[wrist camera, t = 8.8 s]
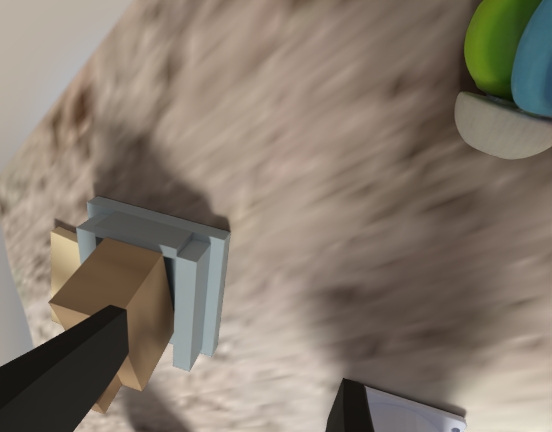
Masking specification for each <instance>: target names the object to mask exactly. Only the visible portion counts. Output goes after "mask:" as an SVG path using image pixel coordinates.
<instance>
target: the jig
mask: <svg viewBox="0 0 552 432" xmlns="http://www.w3.org/2000/svg"><path fill="white" fill-rule="evenodd" d="M87 208H88V218H89V220H87V221H86V222H84V223H83V224H81V225H80V226H78V227H77V228H76V231H77V239H78V247H79V255H80V263H81V265H82V263H83V262H84V261H85V260H86V259H87V258H88V257H89V255H90V254H91V253H92V252H93V251H94V250H95V249H96V247H97V246H98V245H99V244H100V243H101V242H102V241H103V239H104V238H105V237H107V238H110V239H114V240H117V241H121V242H124V243H128V244H131V245H135V246H138V247H142V248H145V249H148V250H152V251H155V252H159V253H162V254H163V258H164V264H165V269H166V274H167V280H168V285H169V291H170V296H171V301H172V307H173V312H174V333H173V335H172V337H171V339H170V341H169V343H170V344H174V345H173V366H174V367H177V368H180V369H183V370H186V371H189V372H190V370H191V368H192V366H193V364H194V362H195V361H196V359H197V357H198V355H199V353H201V354H204V355H208V356H211V357H212V356H213V354H214V352H215V350H216V348H217V345H218V336H219V328H220V319H221V310H222V302H223V293H224V285H225V276H226V268H227V259H228V250H229V242H230V233H231V232H228V231H225V230H221V229H217V228H214V227H210V226H206V225H203V224H199V223H195V222H192V221H188V220H184V219H181V218H177V217H173V216H170V215H166V214H162V213H159V212H155V211H151V210H147V209H144V208H140V207H136V206H133V205H129V204H125V203H122V202H118V201H114V200H111V199H107V198H103V197H100V196H97V197H95V198H93V199H92V200H90V201H88V202H87Z"/></svg>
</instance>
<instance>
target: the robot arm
mask: <svg viewBox="0 0 552 432" xmlns="http://www.w3.org/2000/svg"><path fill="white" fill-rule="evenodd" d="M128 354H129V341H128V322H127V310H126V309H123V308H120V307H117V306H114V305H111V304H110V305H108V306H107V307H105V308H103V309H101V310H100V311H98V312H96V313H95V314H93V315H91V316H90V317H88V318H86V319H85V320H83V321H81V322H80V323H78V324H76V325H75V326H73V327H71V328H70V329H68V330H66V331H64V332H63V333H61V334H59V335H58V336H56V337H54V338H52V339H51V340H49V341H47V342H45V343H44V344H42V345H40V346H38V347H37V348H35V349H33V350H31V351H29V352H27V353H26V354H24V355H22V356H20V357H18V358H16V359H14V360H12V361H10V362H9V363H7V364H5V365H3V366H1V367H0V432H73V431H74V430H75V428H76V427H77V426H78V425H79V423H80V422H81V421H82V419H83V418H84V417H85V416H86V414H87V413H88V412H89V410H90V409H91V408H92V407H93V405H94V404H95V403H96V401H97V400H98V399H99V397H100V396H101V395H102V394H103V392H104V391H105V390H106V388H107V387H108V386H109V384H110V383H111V382H112V380H113V378H114V377H115V375H116V374H117V372H118V370H119V369H120V367H121V365H122V364H123V362H124V360H125V359H126V357H127V355H128ZM466 427H467V424H466V420H465V419H464V418H463V417H461V416H458V415H455V414H452V413H449V412H445V411H442V410H439V409H436V408H433V407H430V406H426V405H423V404H420V403H417V402H414V401H411V400H407V399H404V398H401V397H398V396H395V395H392V394H388V393H385V392H382V391H379V390H376V389H373V388H369V387H366V386H364V384H361V383H358V382H354V381H351V380H348V379H345V378H343V380H342V383H341V385H340V388H339V391H338V393H337V396H336V399H335V401H334V404H333V406H332V409H331V412H330V414H329V417H328V421H327V427H326V432H464V430H465V429H466Z"/></svg>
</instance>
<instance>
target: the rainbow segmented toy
mask: <svg viewBox="0 0 552 432" xmlns="http://www.w3.org/2000/svg"><path fill="white" fill-rule="evenodd" d="M464 55H465V60H466V65H467V67H468V70H469V72H470V74H471V76H472V78H473V80H474V81H475V83H476V87H477V88H479V89H480V90H481V91H483V92H485V93H486V94H487V95H486V96H483V95H479V94H475V93H470V92H460V93H459V94H458V96H457V99H456V104H455V122H456V126H457V129H458V131H459V133H460V135H461V137H462V138H463V140H464V141H465V142H466V143H467V144H469V145H470V146H472V147H474V148H476V149H478V150H480V151H482V152H485V153H487V154H490V155H493V156H496V157H499V158H503V159H511V160H513V159H521V158H526V157H529V156H533V155H536V154H538V153H541V152H543V151H545V150H546V149H548V148H550V147H551V146H552V0H483V1H482V2H481V3H480V5H479V6H478V8H477V9H476V11H475V13H474V15H473V17H472V19H471V21H470V24H469V26H468V29H467V32H466V37H465V44H464Z"/></svg>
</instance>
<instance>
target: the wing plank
mask: <svg viewBox="0 0 552 432" xmlns="http://www.w3.org/2000/svg"><path fill="white" fill-rule="evenodd" d="M80 266H81V263H80V255H79V247H78V239H77V234H75V233H73V232H70V231H68V230H66V229H63V228H61V227H57V228H56V229H54V230H52V231H51V299H52V298H53V296H54V295H55V294H56V293H57V292H58V291H59V290H60V289H61V287H62V286H63V285H64V284H65V283H66V282H67V281H68V279H69V278H70V277H71V276H72V275H73V274H74V273H75V271H76V270H77V269H78V268H79V267H80ZM52 321H54V322H56V323H58V324H60V325H62V324H61V322H60V321H59V319H58V318H57V316H56V314H55V313H54V311H53V309H52Z"/></svg>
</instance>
